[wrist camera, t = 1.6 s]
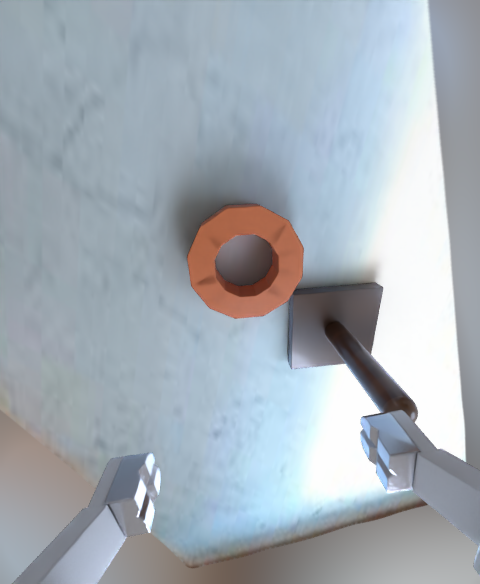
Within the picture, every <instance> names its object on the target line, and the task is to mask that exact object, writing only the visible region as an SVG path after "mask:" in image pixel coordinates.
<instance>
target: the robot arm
mask: <svg viewBox="0 0 480 584" xmlns="http://www.w3.org/2000/svg"><path fill="white" fill-rule="evenodd" d="M361 425H362V427H363V430H362V431H361V442H362V446H363V449H364V451H365V453H366V455H367V457H368V459H369V460H370V461H371V462H372V463H374V464H375V465H376V473H377V475H378V477H379V479H380V480H381V482H382V484H383V486H384V487H385V489H386V491H387V493H390V492H397V491H405V490H412V489H413V490H412V491H413V492H414V493H415V494H417V495H418V496H419V497H420V498H421V499H423V500H424V501H425V502H426V503H427V504H429V505H430V506H431V507H432V508H433V509H435V510H436V511H437V512H438V513H439V514H441V515H442V516H443V517H444V518H445V519H447V520H448V521H449V522H450V523H451V524H453V525H454V526H455V527H456V528H457V529H459V530H460V531H461V532H462V533H464V534H465V535H466V536H467V537H468V538H469V539H471V540H472V541H473V542H474V543H476V544H477V545H478V550H477V553H476V556H475V559H474V568H475V570H476V571H477V573H478V574H479V576H480V470H478V469H477V468H475V467H473V466H472V465H470V464H468V463H466V462H464V461H463V460H461V459H459V458H457V457H455V456H454V455H452V454H450V453H448V452H446V451H445V450H443V449H437V448H436V447H435V446H434V445H433V444H432V443H431V441H430V440H429V439H428V438H427V437H426V436H425V435H424V433H423V432H422V431H421V430H420V429H419V428H418V426H417V425H416V424H415V423H414V422H413V421H412V420H411V418H410V417H409V416H408V415H407V414H406V413H405V412H404V411H403V410H398V411H392V412H384V413H379V414H374V415H368V416H363V417H362V418H361ZM154 460H155V457H154V455H153V453H144V454H137V455H129V456H122V457H116V458H112V459H111V460H110V461H109V462H108V463H107V466H106V468H105V470H104V472H103V474H102V477H101V479H100V481H99V483H98V486H97V488H96V490H95V492H94V494H93V497H92V499H91V501H90V503H89V505H88V508H84V509H82V510H81V512H80V513H79V514H78V515H77V516H76V517H75V518H74V519H73V520H72V521H71V522H70V523H69V524H68V525H67V526H66V527H65V528H64V529H63V531H62V532H61V533H60V534H59V535H58V536H57V537H56V538H55V539H54V540H53V541H52V542H51V543H50V544H49V545H48V546H47V547H46V548H45V549H44V551H43V552H42V553H41V554H40V555H39V556H38V557H37V558H36V559H35V560H34V561H33V562H32V563H31V564H30V565H29V566H28V567H27V569H26V570H25V571H24V572H23V573H22V574H21V575H20V576H19V577H18V578H17V579H16V580H15V581H14V582H13V583H12V584H97V583H98V581H99V580H100V578H101V577H102V575H103V574H104V572H105V570H106V569H107V567H108V566H109V564H110V563H111V561H112V560H113V558H114V557H115V555H116V554H117V552H118V550H119V549H120V547H121V546H122V544H123V543H124V541H125V540H126V538H125V537H130V536H135V535H140V534H144V533H150V530H151V526H152V522H153V517H154V513H155V508H154V505H153V502H154V501H155V499H156V498H157V497H158V495H159V491H160V484H161V475H160V470H159V467H158V466H157V465H155V464H154Z"/></svg>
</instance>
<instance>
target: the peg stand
mask: <svg viewBox="0 0 480 584" xmlns="http://www.w3.org/2000/svg"><path fill="white" fill-rule="evenodd" d="M382 292H383V287H382V286H380V285H379V284H377V283H366V284H354V285H343V286H331V287H319V288H307V289H296V290H294V292H293V293H292V295H291V296H290V309H289V349H288V362H289V365H290V367H291V369H297V368H307V367H317V366H326V365H336V364H346V365H347V366H348V368H349V369H350V370H351V372H352V373H353V375H354V376H355V377H356V379H357V380H358V382H359V383H360V384H361V386H362V387H363V388H364V390H365V391H366V393H367V394H368V395H369V397H370V398H371V400H372V401H373V402H374V404H375V405H376V406H377V408H378V409H379V411H380V412H381V413H384V412H392V411H398V410H403V411H404V412H405V413H406V414H407V415H408V416H409V417H410V418H411V420H412V421H413V422H415V421H416V419H417V416H418V411H417V407H416V405H415V403H414V402H413V400H412V399H411V398H410V397H409V396H408V395H407V394H406V393H405V392H404V390H403V389H402V388H401V387H400V386H399V385H398V384H397V383H396V382H395V381H394V379H393V378H392V377H391V376H390V375H389V374H388V373H387V372H386V371H385V370H384V369H383V367H382V366H381V365H380V364H379V363H378V362H377V361H376V360H375V359H374V358H373V356H372V355H371V351H372V346H373V341H374V335H375V330H376V324H377V319H378V314H379V308H380V303H381V297H382Z"/></svg>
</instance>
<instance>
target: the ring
mask: <svg viewBox="0 0 480 584" xmlns="http://www.w3.org/2000/svg"><path fill="white" fill-rule="evenodd" d="M250 234H255V235H257V236H259V237H261V238H263V239H265V240H267V242H268V243H269V245H270V246H271V248H272V265H271V267H270V269H269V271H268V272H267V274H266V276H265V277H264V278H262V279H261V280H259V281H258V282H256V283H255V284H253V285H244V286H237V285H234V284H232V283H230V282H228V281H225V280H224V279H223V277H222V276H221V275H220V273H219V272H218V270H217V269H216V263H215V258H216V256H217V254H218V252H219V250H220V248H221V246H222V245H223V244H225V243H226V242H228V241H229V240H231V239H232V238H233V237H235V236H237V235H250ZM303 252H304V248H303V245H302V243H301V242H300V240H299V238H298V236H297V234H296V233H295V231H294V229H293V227H292V225H291V224H290V222H289V221H288V220H287V219H285V218H283V217H281V216H279V215H277V214H275V213H274V212H272V211H270V210H268V209H266V208H264V207H263V206H260V205H258V204H241V205H227V206H225V207H223V208H222V209H220V210H219V211H218V212H216V213H215V214H213V215H212V216H211V217H209V218H208V219H206V220H205V221H203V222H202V223H201V225H200V228H199V230H198V232H197V234H196V237H195V239H194V241H193V244H192V246H191V248H190V251H189V253H188V255H187V260H188V267H189V274H190V281H191V286H192V288H193V289H194V290H195V291H196V292H197V294H198V295H199V296H200V297H201V299H202V300H203V301H204V302H205V304H206V305H207V306H208V307H209V308H210V309H213V310H215V311H218V312H220V313H223V314H225V315H228V316H230V317H233V318H235V319H237V318H248V317H259V316H264V315H266V314H268V313H269V312H271V311H272V310H274V309H276V308H277V307H279V306H281V305H282V304H284V303H286V302H287V301H288V300H289V298H290V296H291V295H292V293H293V292H294V290H295V288H296V287H297V285H298V283H299V282H300V280H301V279H302V274H303Z"/></svg>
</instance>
